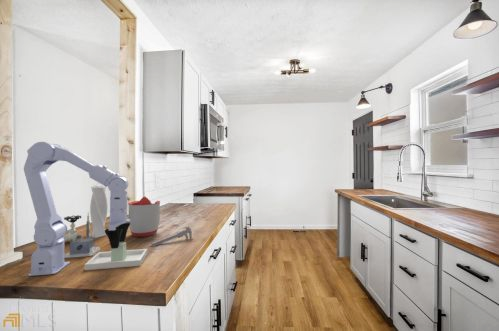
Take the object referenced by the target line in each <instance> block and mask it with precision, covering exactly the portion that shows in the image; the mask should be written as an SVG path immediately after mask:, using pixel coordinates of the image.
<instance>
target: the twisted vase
mask: <svg viewBox="0 0 499 331" xmlns="http://www.w3.org/2000/svg"><path fill="white" fill-rule="evenodd" d="M90 188H91V192H92V195H91V199H90V205H89V207H90V209H89V210H90V212H87V216H86V217H87V219H86V230H85V232H86V235H85V238H86V239H88V238H95V239H99V238H102V237H108V236H107V235H106V233H105V230H106V228H105V225H106V221H107V215H108V199H107V195H106V189H107V187H106V186H104V185H102V184H100V183H99V182H97V183H96V184H95V185H93V186H91V187H90ZM89 213H90V214H89ZM89 215H90V216H89ZM90 220H91V221H90ZM91 225H92V231H91Z"/></svg>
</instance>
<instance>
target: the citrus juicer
mask: <svg viewBox="0 0 499 331" xmlns="http://www.w3.org/2000/svg"><path fill="white" fill-rule="evenodd" d="M160 204H161V200H157V201H155V203H154V202H153V203H152V201H151V200H150V199H149V198H148V197H147V196H142V198H141V199H140V200H134V201H130V202H127V205H128V219H130V225H129V227H128V228H129V230H130V233H131V235H132V236H133V237H137V238H139V237H143V238H146V237H147V238H148V237H149V236H153V235H155V234H157V232H158V230H159V225H160V220H161V215H160V214H161V211H160V210H161V205H160Z"/></svg>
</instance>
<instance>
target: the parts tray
mask: <svg viewBox="0 0 499 331" xmlns="http://www.w3.org/2000/svg"><path fill="white" fill-rule="evenodd" d="M147 255H148V248H142V249H141V248H140V249H126V258H125V260H124V261H112V262H111V250H109V251H98V252H97V253H95V254H94V255H93V256H92V257H91V258H90V259H89V260H88V261H87V262H85V263H84V271H93V270H104V269H116V268H118V269H119V268H128V267H139V266H142V264H143V262H144V260H145V258H146V257H147Z"/></svg>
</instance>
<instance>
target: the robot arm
mask: <svg viewBox="0 0 499 331" xmlns="http://www.w3.org/2000/svg"><path fill="white" fill-rule="evenodd" d="M26 151H27V157H26V160H25V163H24V165H23V172H24V176H25V180H26V182H27V186H28V190H29V194H30V197H31V201H32V205H33V208H34V211H35V215H36V221H35V224H34V234H33V241H34V242H35V243H36V244H37V249H36V250H35V251H34V252H33V253H32V254H31V258H30V272H29V273H28V274H27V276H28V277H33V276H45V275H47V276H48V275H55V274H57V273H58V272H59V271H61V270H63V269H64V268H65V267H67V266H68V265H69V264H70V263H71V262H70V261H65V258H64V255H65V240H64V236H65V235H66V234H67V233H68V226H67V224H66V223H65V222H64V221H63V218H62V216H60V215H59V214H58V212H57V209H56V205H55V202H54V199H53V198H54V197H53V195H52V190H51V187H50V184H49V180H48V176H47V172H46V171H47V170H48V169H49V168H50V167H51V166H52V165H53V164H55V163H57V162H59V161H61V162H62V161H63V162H67V163H69V164H71V165H73V166H75V167H77V168H78V169H81V170H82V171H84V172H87V173H88V175H89V178H90V179H92V180H94V181H95V182H96V183H100V184H99V185H102V186H103V187H105V186H106V188H108V190H109V191H110V197H109V221H108V222H109V223H108V228H105V233H106V235H107V236H106V237H107V239H108V241H109V245H110V249H111V248H112V249H114V248H118V247H119V242H126V237H127V233H128V229H129V228H130V227H129V225H130V219H129V218H128V190H127V189H128V187H129V181H128V179H127V178H125V176H123V175H122V176H121V175H120V174H119V173H118V172H116V173H115V172H114V171H113V170H110V169H108V166H106V165H105V164H104V165H102V164H96V165H94V164H93V163H91V162H89V161H88V160H86V159H85V158H83V157H82V156H80V155H78V154H77V153H75V152H74V151H72V150H70V149H68V148H66V147H62V145H60V144H57V143H49V142H45V141H38V142H35V143H34V144H33V145H31V147H29V148H28V149H27V150H26Z"/></svg>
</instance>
